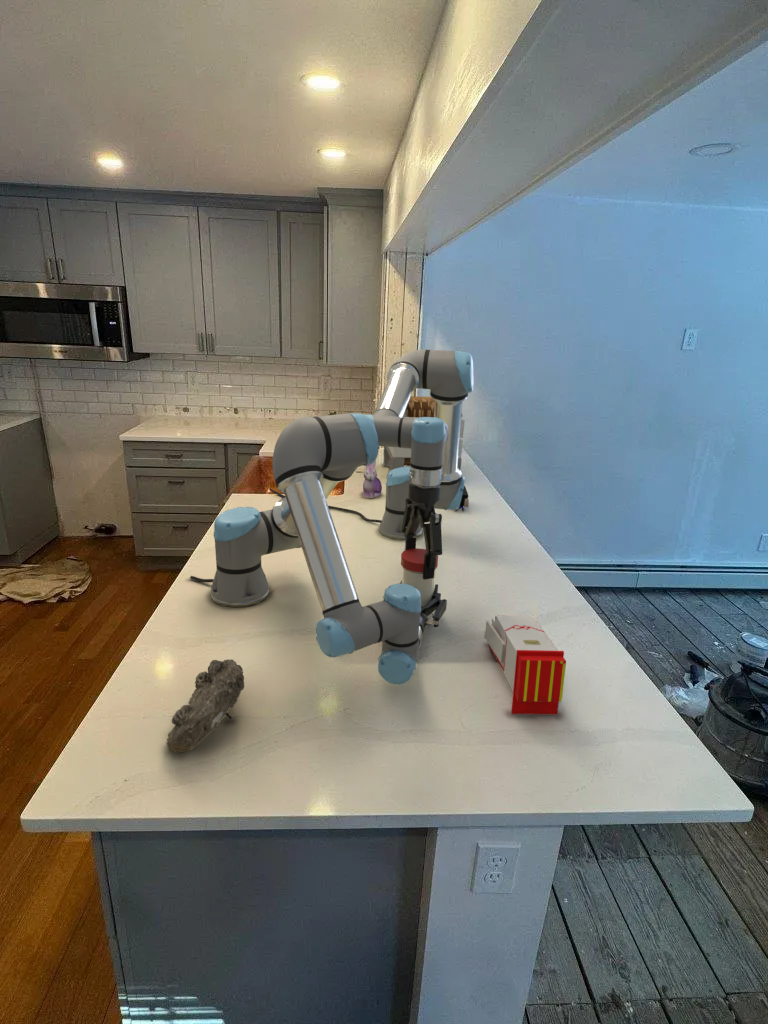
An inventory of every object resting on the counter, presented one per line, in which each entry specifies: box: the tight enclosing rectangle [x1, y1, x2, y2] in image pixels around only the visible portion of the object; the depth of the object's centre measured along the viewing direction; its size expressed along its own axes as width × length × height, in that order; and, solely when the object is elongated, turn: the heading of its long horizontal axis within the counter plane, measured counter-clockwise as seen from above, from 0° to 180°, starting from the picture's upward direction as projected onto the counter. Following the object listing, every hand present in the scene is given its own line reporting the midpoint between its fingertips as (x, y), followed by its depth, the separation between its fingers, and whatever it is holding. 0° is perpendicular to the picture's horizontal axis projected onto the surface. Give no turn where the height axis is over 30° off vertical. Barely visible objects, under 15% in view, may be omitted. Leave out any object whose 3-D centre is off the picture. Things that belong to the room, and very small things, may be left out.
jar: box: [401, 566, 436, 618], centre depth 144 cm, size 8×8×17 cm
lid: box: [400, 547, 439, 572], centre depth 141 cm, size 9×9×2 cm
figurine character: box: [455, 485, 470, 512], centre depth 229 cm, size 7×8×15 cm
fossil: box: [166, 658, 245, 754], centre depth 106 cm, size 22×10×15 cm
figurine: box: [361, 459, 383, 499], centre depth 237 cm, size 9×10×15 cm
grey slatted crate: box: [383, 395, 465, 472], centre depth 268 cm, size 34×33×41 cm
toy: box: [484, 614, 567, 716], centre depth 124 cm, size 12×13×30 cm
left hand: (419, 586), depth 149 cm, fingers closed on jar, 8 cm apart
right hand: (418, 569), depth 142 cm, fingers closed on lid, 9 cm apart
